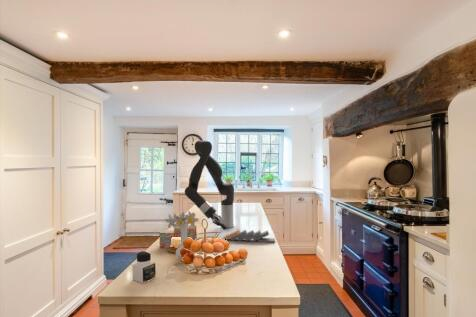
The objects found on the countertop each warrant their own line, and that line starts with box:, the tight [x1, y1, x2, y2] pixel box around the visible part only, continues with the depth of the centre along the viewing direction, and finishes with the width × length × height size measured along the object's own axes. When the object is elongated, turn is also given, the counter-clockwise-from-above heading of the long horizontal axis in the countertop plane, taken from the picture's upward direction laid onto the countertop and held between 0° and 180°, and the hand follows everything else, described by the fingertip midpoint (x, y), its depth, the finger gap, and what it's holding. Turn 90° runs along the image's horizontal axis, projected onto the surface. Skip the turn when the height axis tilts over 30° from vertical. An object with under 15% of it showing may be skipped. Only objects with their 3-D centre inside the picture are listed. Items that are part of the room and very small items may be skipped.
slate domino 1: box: [230, 229, 248, 242], centre depth 182 cm, size 2×5×10 cm
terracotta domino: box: [223, 229, 241, 241], centre depth 183 cm, size 2×5×10 cm
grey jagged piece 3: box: [237, 230, 255, 242], centre depth 181 cm, size 2×5×10 cm
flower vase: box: [165, 211, 199, 261], centre depth 150 cm, size 13×18×25 cm
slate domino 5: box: [252, 230, 270, 242], centre depth 180 cm, size 2×5×10 cm
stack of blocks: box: [159, 224, 198, 249], centre depth 171 cm, size 21×6×12 cm, turn 86°
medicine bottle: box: [132, 250, 157, 284], centre depth 126 cm, size 7×7×12 cm
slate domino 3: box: [244, 230, 262, 242], centre depth 180 cm, size 2×5×10 cm
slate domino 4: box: [257, 237, 276, 244], centre depth 178 cm, size 2×5×10 cm
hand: (225, 228), depth 184 cm, fingers closed
